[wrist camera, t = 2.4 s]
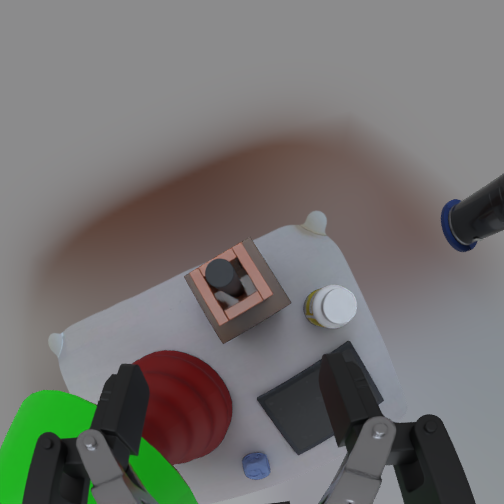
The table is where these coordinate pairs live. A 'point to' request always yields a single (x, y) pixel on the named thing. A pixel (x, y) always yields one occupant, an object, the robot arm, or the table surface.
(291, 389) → the tablet
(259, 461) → the decorative dice
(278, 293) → the stand
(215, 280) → the stylus
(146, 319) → the table surface
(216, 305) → the pen cup
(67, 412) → the table lamp
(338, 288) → the pill bottle
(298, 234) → the table surface
